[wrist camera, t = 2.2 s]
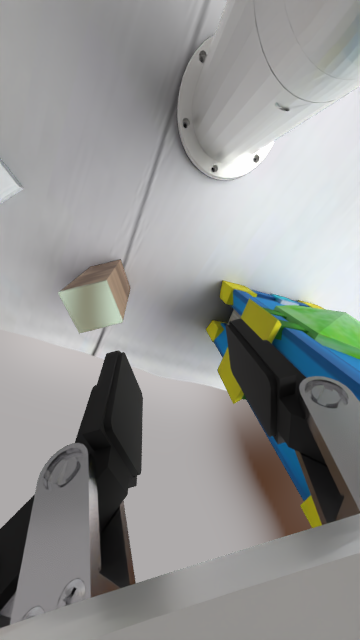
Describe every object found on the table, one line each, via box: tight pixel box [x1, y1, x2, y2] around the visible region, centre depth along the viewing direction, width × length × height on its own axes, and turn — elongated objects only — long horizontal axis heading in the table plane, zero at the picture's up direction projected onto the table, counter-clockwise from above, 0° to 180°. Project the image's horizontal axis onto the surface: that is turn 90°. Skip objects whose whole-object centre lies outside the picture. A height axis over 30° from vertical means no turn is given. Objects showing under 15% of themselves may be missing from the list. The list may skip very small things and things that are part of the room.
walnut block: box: [58, 259, 130, 334], centre depth 25 cm, size 4×4×12 cm
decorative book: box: [206, 280, 360, 528], centre depth 24 cm, size 14×23×30 cm, turn 74°
